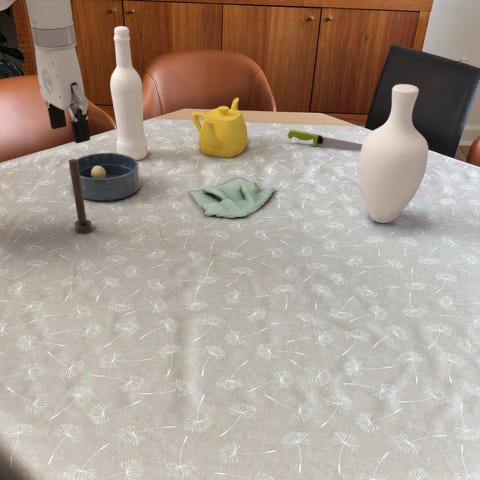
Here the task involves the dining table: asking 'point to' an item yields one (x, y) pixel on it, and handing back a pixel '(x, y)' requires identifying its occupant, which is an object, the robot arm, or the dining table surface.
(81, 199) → the muddler
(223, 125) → the teapot
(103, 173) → the ball
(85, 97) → the robot arm
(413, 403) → the dining table surface
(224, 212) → the cloth
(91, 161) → the bowl
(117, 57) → the bottle
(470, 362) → the dining table surface
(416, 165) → the vase
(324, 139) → the kitchen knife
